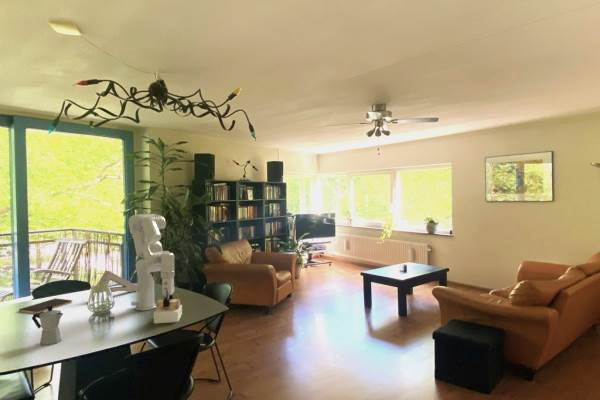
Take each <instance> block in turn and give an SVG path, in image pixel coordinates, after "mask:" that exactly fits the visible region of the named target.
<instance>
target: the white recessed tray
mask: <svg viewBox="0 0 600 400" xmlns="http://www.w3.org/2000/svg"><path fill="white" fill-rule="evenodd" d="M181 315H183V305H182V304H180V307H179V309H178V310H160V311H156V310H155V311H154V312H153V324H165V323H166V324H167V323H168V324H169V323H178V322H179V321H180V319H181V317H182V316H181Z"/></svg>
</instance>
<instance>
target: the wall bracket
mask: <svg viewBox="0 0 600 400" xmlns="http://www.w3.org/2000/svg"><path fill="white" fill-rule="evenodd" d="M110 281H112V282H113V283H114V284H115V283H116V284H117V285H120V286H111V287H109V288H110V290H111V293H115V292H127V293H132V294H133V293H134V292H137V293H138V284H134V283H132V282H131V281H129V280H127V279H126V278H123V277H121V276H119V275H117V274H115V273H114V272H111V271H109V270H105V271H104V273H103V274H102V276H101V277H100V279H99V281H98V282H97V284H96V286H98V285H107V286H108V284H109V283H110Z"/></svg>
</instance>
